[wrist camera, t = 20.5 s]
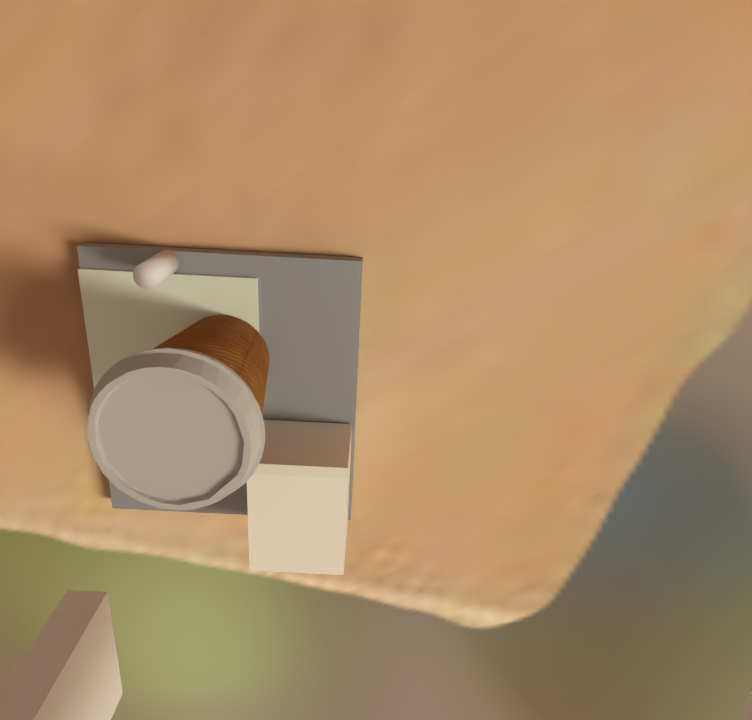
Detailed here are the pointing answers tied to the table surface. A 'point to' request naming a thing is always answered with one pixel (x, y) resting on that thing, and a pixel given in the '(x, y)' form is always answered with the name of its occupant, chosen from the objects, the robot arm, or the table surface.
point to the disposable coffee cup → (183, 415)
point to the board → (238, 299)
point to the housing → (300, 498)
